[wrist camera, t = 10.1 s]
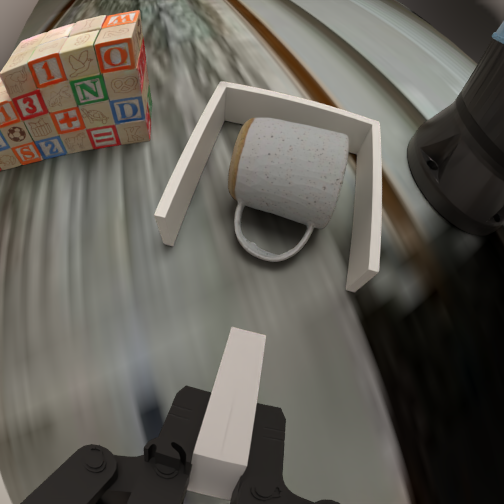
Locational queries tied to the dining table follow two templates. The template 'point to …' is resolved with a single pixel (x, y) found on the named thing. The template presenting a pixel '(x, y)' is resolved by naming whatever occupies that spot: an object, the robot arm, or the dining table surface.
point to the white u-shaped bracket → (297, 111)
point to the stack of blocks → (75, 91)
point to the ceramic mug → (287, 175)
